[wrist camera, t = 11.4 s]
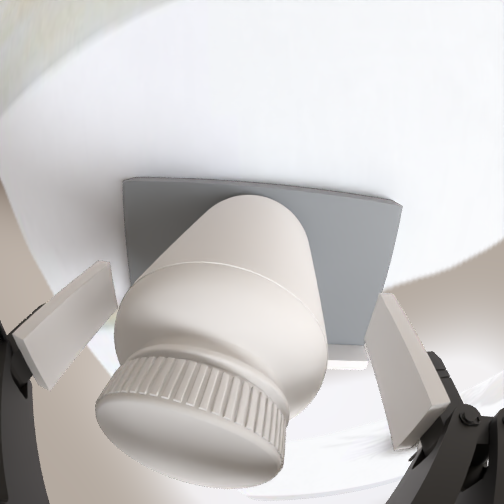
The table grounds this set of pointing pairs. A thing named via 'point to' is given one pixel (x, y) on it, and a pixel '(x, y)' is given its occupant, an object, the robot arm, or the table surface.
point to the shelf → (315, 226)
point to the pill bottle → (218, 348)
